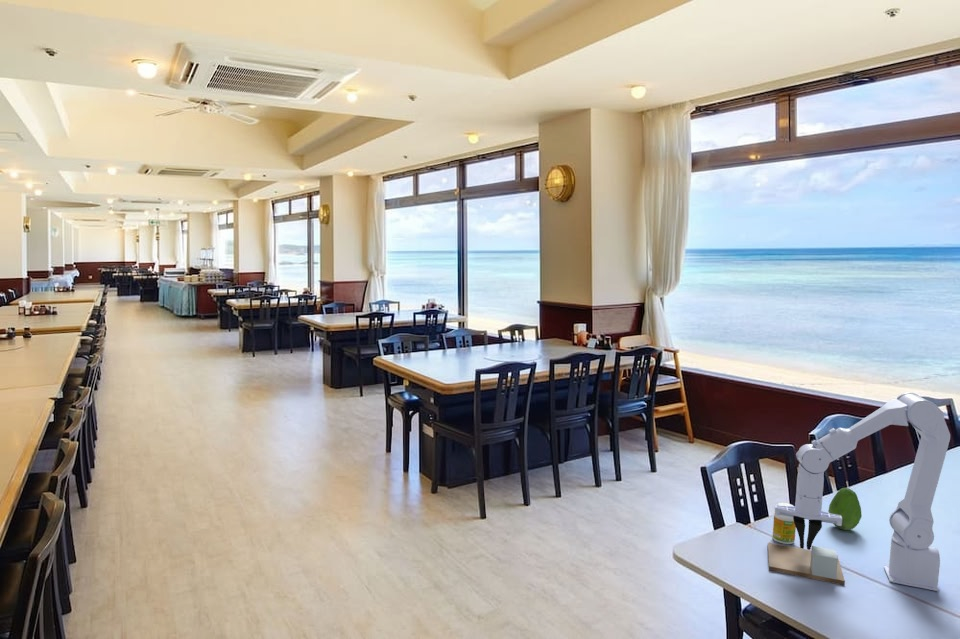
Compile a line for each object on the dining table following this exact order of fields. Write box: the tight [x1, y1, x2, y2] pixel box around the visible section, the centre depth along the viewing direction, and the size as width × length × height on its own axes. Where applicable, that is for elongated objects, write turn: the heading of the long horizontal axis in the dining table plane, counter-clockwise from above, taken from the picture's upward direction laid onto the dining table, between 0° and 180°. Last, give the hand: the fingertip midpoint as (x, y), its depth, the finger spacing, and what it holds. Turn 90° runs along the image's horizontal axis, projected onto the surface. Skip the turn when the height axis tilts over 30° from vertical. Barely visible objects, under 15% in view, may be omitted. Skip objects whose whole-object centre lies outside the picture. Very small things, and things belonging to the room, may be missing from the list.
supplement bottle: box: [772, 502, 797, 545], centre depth 168 cm, size 5×5×10 cm
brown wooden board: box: [767, 542, 846, 586], centre depth 155 cm, size 16×14×1 cm
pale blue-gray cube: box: [810, 545, 839, 579], centre depth 149 cm, size 5×5×5 cm
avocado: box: [828, 487, 862, 531], centre depth 177 cm, size 8×8×12 cm
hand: (805, 547), depth 155 cm, fingers closed
